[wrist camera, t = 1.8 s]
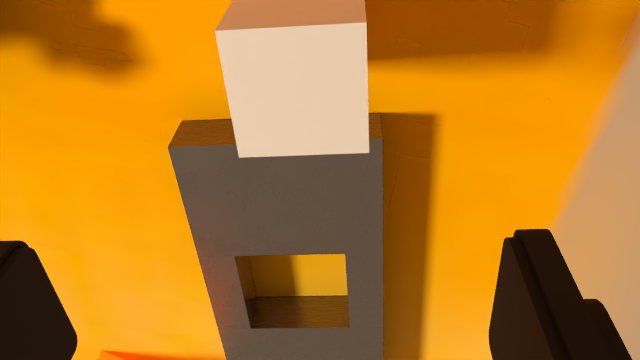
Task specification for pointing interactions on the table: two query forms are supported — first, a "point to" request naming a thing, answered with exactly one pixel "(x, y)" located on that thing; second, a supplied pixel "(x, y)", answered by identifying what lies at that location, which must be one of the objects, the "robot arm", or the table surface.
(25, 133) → the table surface
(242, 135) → the square peg
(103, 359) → the orange juice
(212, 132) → the grey peg hole board
